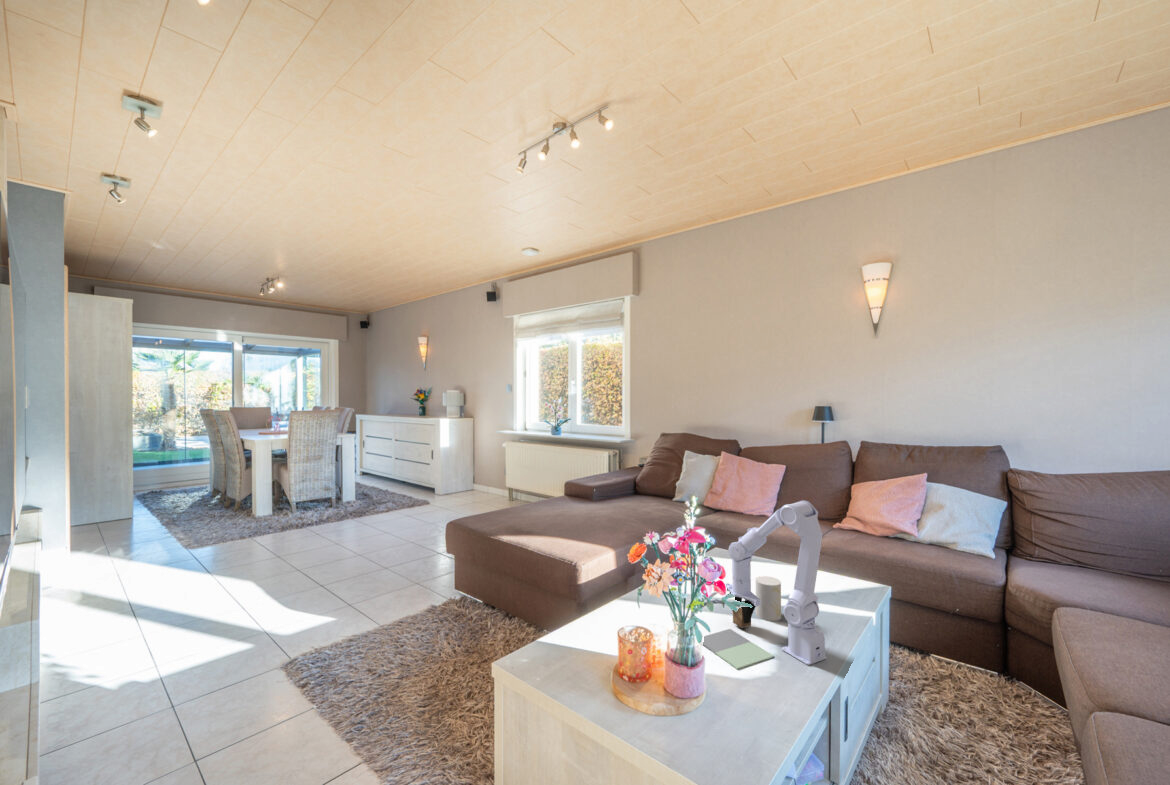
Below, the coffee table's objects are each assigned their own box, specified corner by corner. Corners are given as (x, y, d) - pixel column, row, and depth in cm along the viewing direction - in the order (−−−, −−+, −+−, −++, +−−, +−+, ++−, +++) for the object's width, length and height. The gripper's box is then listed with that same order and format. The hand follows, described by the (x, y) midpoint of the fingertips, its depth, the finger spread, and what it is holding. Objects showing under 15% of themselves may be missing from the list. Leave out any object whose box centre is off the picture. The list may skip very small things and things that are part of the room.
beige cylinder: (777, 623, 160) (776, 587, 160) (752, 616, 165) (752, 581, 165) (783, 614, 166) (783, 579, 166) (760, 608, 171) (759, 574, 171)
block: (751, 625, 157) (750, 606, 157) (741, 628, 155) (741, 609, 155) (742, 620, 160) (741, 602, 160) (733, 622, 159) (732, 604, 159)
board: (774, 657, 139) (774, 655, 139) (737, 669, 133) (737, 668, 133) (730, 630, 156) (730, 628, 156) (695, 639, 149) (695, 638, 149)
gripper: (716, 572, 163) (717, 613, 162) (748, 588, 149) (749, 631, 149) (732, 569, 166) (733, 608, 166) (765, 584, 153) (765, 627, 152)
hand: (741, 619), depth 158 cm, fingers closed on block, 4 cm apart
